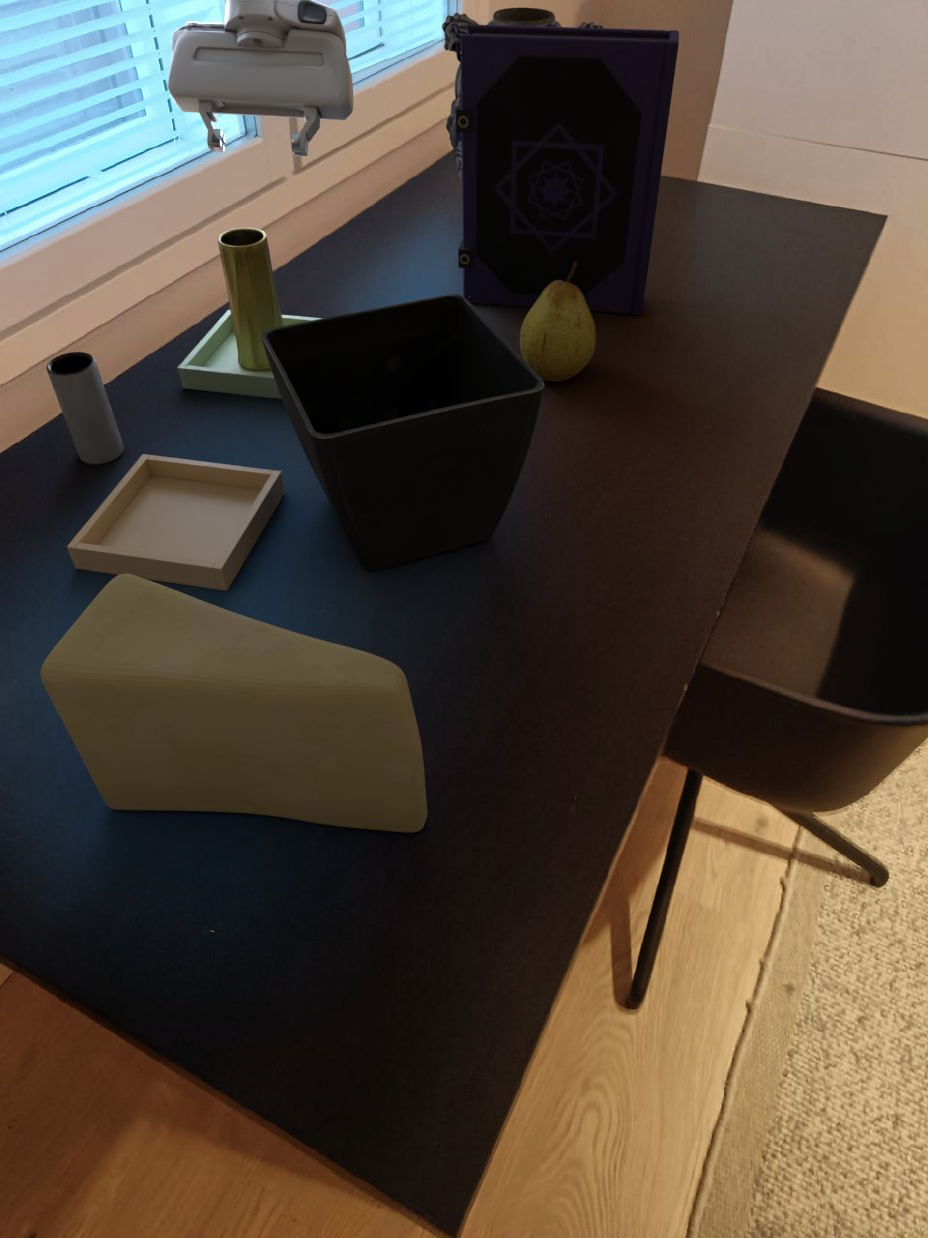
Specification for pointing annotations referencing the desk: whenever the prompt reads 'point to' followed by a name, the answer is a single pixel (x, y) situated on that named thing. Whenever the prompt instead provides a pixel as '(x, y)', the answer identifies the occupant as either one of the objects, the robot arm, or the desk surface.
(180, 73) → the robot arm
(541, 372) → the fruit
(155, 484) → the tray
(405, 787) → the cheese
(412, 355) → the flower pot
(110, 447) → the grey tapered cylinder
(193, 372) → the vase tray
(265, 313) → the vase
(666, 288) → the desk surface
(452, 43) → the decorative vase
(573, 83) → the book
